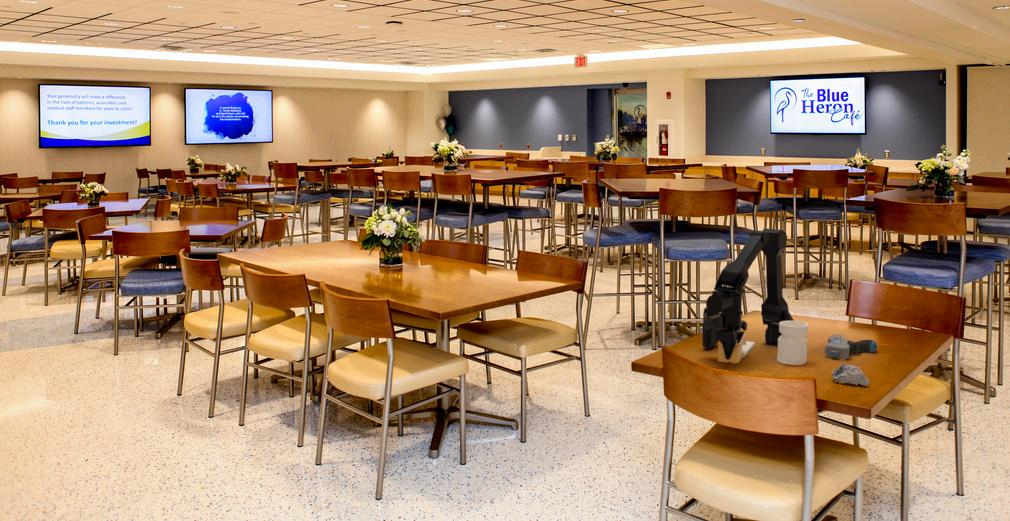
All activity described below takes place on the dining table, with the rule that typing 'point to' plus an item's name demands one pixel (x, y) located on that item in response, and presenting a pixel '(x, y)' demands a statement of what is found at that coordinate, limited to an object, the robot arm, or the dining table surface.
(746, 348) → the plate
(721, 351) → the tan block
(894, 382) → the dining table surface
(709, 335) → the carrying case or bag
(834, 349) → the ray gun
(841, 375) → the mineral specimen
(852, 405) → the dining table surface
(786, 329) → the white plastic jar
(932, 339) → the dining table surface
